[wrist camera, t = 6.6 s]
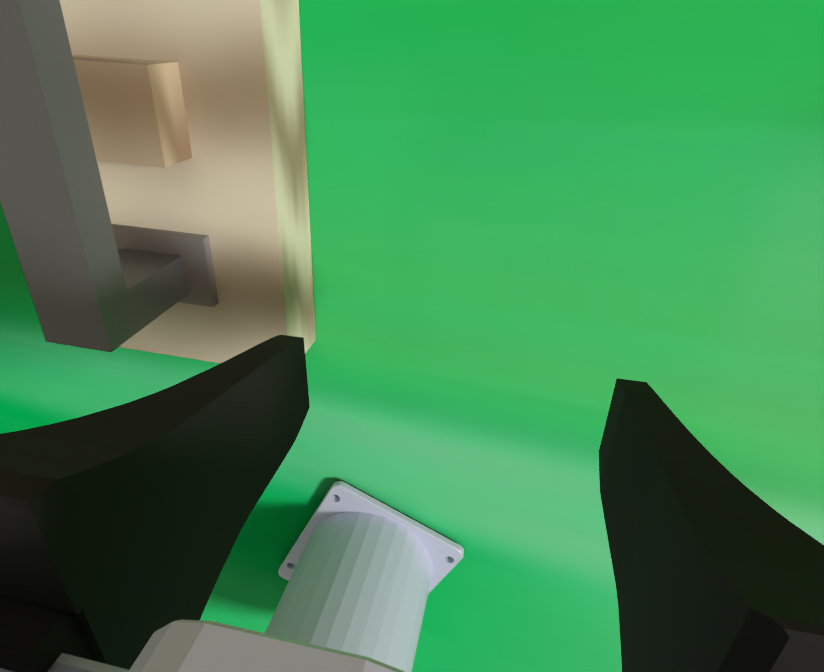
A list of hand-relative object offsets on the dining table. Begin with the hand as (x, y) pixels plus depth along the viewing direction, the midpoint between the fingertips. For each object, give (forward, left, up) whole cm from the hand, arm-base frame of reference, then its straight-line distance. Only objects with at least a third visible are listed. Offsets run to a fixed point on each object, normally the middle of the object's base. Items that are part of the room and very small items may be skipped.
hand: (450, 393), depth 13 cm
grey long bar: (-1, +13, -7) cm, 15 cm away
